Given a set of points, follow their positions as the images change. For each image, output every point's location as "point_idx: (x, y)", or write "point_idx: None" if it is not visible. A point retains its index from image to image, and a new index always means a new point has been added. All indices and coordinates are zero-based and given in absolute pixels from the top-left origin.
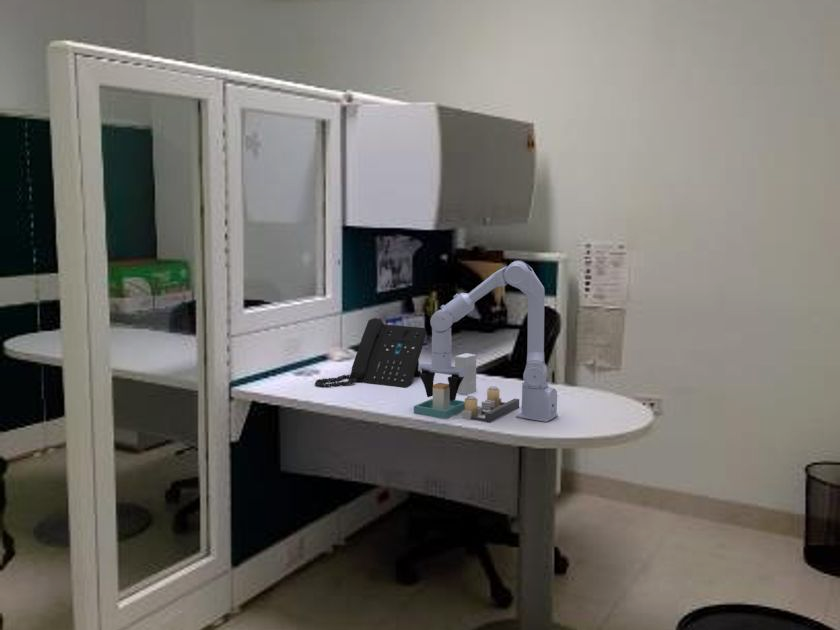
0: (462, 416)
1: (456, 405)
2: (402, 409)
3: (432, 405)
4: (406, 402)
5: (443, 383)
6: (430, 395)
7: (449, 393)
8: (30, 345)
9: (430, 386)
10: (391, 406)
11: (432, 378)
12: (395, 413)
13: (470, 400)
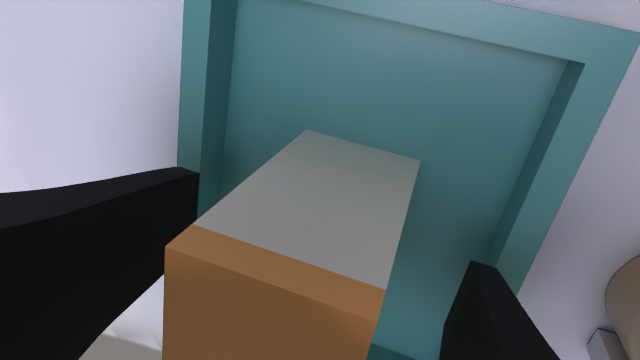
0: (594, 356)
1: (510, 239)
2: None
3: (239, 103)
4: (13, 14)
5: (251, 289)
6: (190, 217)
7: (398, 241)
8: None
9: (115, 261)
10: (9, 160)
11: (12, 272)
12: None
13: None
